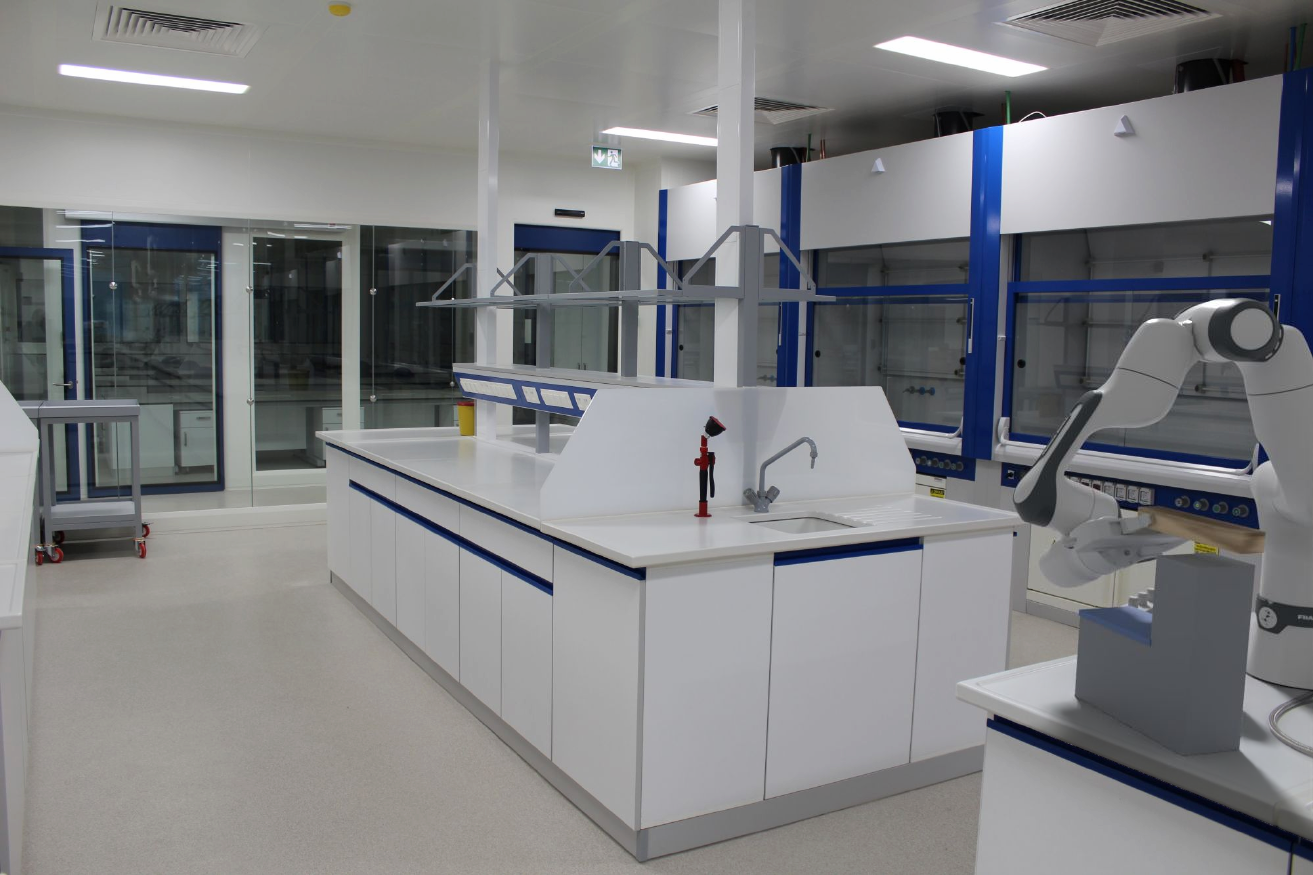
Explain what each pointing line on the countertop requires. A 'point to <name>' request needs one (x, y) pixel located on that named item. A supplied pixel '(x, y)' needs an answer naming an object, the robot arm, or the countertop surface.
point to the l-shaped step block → (1174, 655)
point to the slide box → (1206, 530)
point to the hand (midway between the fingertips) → (1166, 517)
